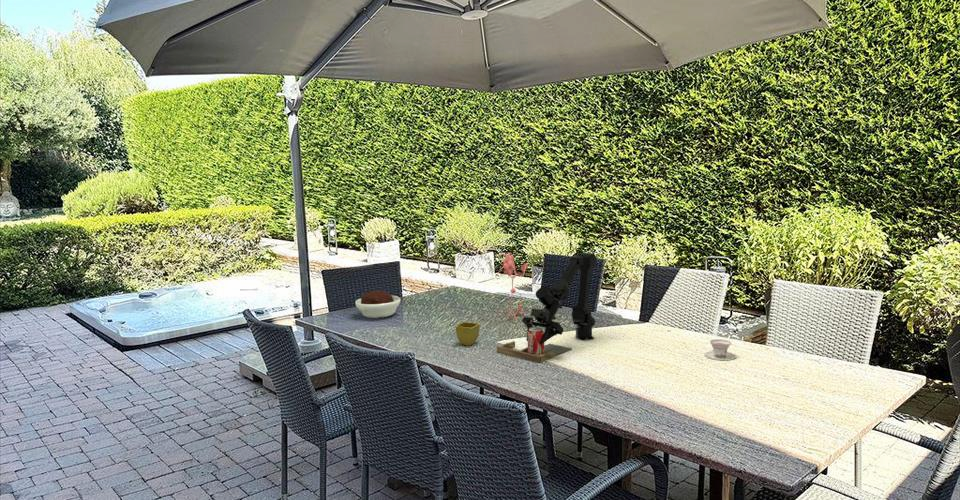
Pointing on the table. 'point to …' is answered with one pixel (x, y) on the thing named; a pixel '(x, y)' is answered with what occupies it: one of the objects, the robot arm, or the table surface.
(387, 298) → the white dessert bowl
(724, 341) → the teacup
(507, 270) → the figurine
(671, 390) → the table surface
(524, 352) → the shelf lanes
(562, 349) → the rubber mat
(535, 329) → the soda can
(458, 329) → the flower pot
